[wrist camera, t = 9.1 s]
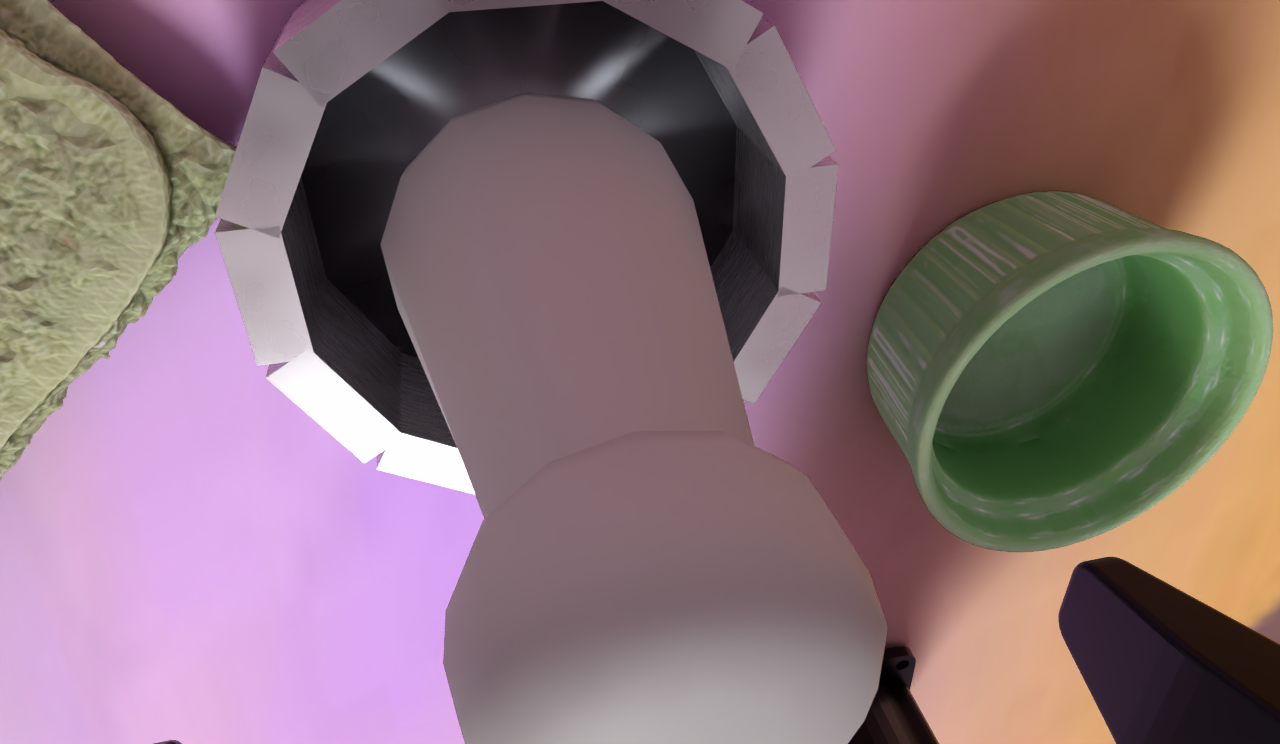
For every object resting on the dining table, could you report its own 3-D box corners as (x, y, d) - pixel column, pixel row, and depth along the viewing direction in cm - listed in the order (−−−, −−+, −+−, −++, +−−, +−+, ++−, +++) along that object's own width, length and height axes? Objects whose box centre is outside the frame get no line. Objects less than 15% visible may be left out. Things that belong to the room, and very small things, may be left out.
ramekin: (1190, 146, 23) (1336, 214, 19) (1101, 426, 28) (1205, 521, 24) (861, 187, 21) (952, 268, 18) (831, 474, 26) (897, 583, 23)
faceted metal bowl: (782, -117, 17) (870, -95, 14) (756, 360, 23) (814, 454, 20) (178, -85, 15) (116, -50, 12) (322, 424, 21) (306, 537, 18)
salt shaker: (453, 359, 20) (501, 994, 9) (333, 123, 17) (202, 691, 6) (694, 270, 20) (1012, 801, 10) (623, 18, 17) (985, 403, 6)
